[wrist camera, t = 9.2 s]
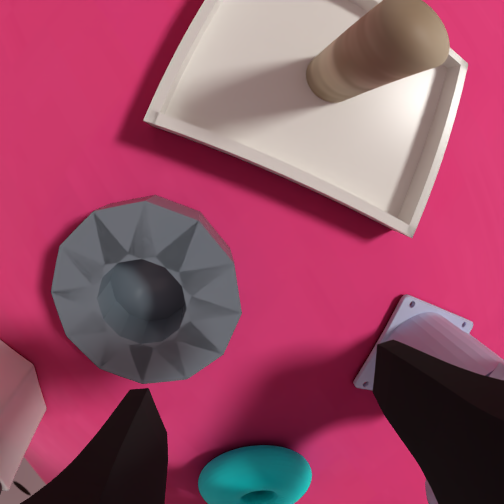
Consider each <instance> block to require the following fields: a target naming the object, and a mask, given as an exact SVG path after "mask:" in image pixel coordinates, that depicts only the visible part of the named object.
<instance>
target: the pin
mask: <svg viewBox="0 0 504 504" xmlns="http://www.w3.org/2000/svg"><path fill="white" fill-rule="evenodd" d="M449 48H450V46H449V38H448V34H447V31H446V29H445V27H444V25H443V23H442V21H441V19H440V18H439V17H438V15H437V14H436V13H435V12H434V10H433V9H432V8H431V7H429V6H428V5H427V4H426V3H425V2H423V1H422V0H383V1H381V2H380V3H379V4H377V5H376V6H375V7H374V8H372V9H371V10H370V11H369V12H367V13H366V14H365V15H364V16H362V17H361V18H360V19H359V20H358V21H356V22H355V23H354V24H353V25H352V26H350V27H349V28H348V29H347V30H346V31H344V32H343V33H342V34H341V35H340V36H339V37H337V38H336V39H335V40H334V41H333V42H332V43H331V44H329V45H328V46H327V47H326V48H325V49H324V50H323V51H322V52H320V53H319V54H318V55H317V56H316V57H315V58H314V59H313V60H312V61H311V62H310V63H309V65H308V67H307V70H306V79H307V83H308V85H309V87H310V89H311V90H312V92H313V93H314V94H315V95H316V96H317V97H319V98H320V99H322V100H324V101H327V102H331V103H338V102H342V101H345V100H347V99H350V98H352V97H355V96H357V95H360V94H362V93H365V92H367V91H370V90H373V89H375V88H378V87H381V86H383V85H386V84H389V83H391V82H394V81H397V80H400V79H403V78H405V77H408V76H411V75H414V74H417V73H420V72H423V71H426V70H429V69H432V68H435V67H438V66H440V65H442V64H443V63H444V62H445V61H446V59H447V57H448V54H449Z"/></svg>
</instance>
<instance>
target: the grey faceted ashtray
mask: <svg viewBox="0 0 504 504" xmlns="http://www.w3.org/2000/svg"><path fill="white" fill-rule="evenodd" d="M51 293H52V297H53V300H54V303H55V306H56V309H57V312H58V315H59V317H60V320H61V323H62V326H63V328H64V331H65V334H66V336H67V337H68V338H69V339H70V340H71V341H72V342H73V343H74V344H75V345H76V346H77V347H78V348H79V349H80V350H81V351H82V352H83V353H84V354H85V355H86V356H87V357H88V358H89V359H90V360H91V361H92V362H93V363H94V364H95V365H96V366H97V367H98V368H99V369H102V370H105V371H107V372H110V373H113V374H116V375H118V376H121V377H124V378H127V379H130V380H133V381H136V382H138V383H141V384H147V383H157V382H167V381H176V380H185V379H188V378H190V377H191V376H193V375H194V374H196V373H197V372H198V371H200V370H201V369H203V368H204V367H206V366H207V365H209V364H210V363H212V362H213V361H215V360H216V359H217V358H219V357H220V356H222V355H223V354H224V352H225V350H226V347H227V345H228V343H229V341H230V338H231V336H232V334H233V332H234V329H235V327H236V325H237V323H238V320H239V318H240V316H241V314H242V312H241V305H240V299H239V292H238V286H237V279H236V273H235V266H234V261H233V257H232V254H231V250H230V248H229V246H228V245H227V244H226V243H225V242H224V240H223V239H222V238H221V237H220V235H219V234H218V233H217V232H216V231H215V229H214V228H213V227H212V226H211V224H210V223H209V222H208V221H207V220H206V218H205V217H204V216H203V215H202V213H201V212H200V211H197V210H194V209H192V208H189V207H186V206H184V205H181V204H178V203H176V202H173V201H170V200H168V199H165V198H162V197H160V196H157V195H152V196H147V197H141V198H136V199H131V200H126V201H121V202H116V203H111V204H108V205H106V206H104V207H102V208H99V209H97V210H95V211H93V212H92V213H91V214H90V215H89V216H88V217H87V218H86V219H85V220H84V221H83V222H82V223H81V224H80V225H79V226H78V227H77V228H76V229H75V230H74V231H73V232H72V233H71V234H70V235H69V237H68V238H67V239H66V240H65V241H64V242H63V243H62V244H61V245H60V246H59V251H58V256H57V261H56V266H55V271H54V277H53V283H52V289H51Z"/></svg>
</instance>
